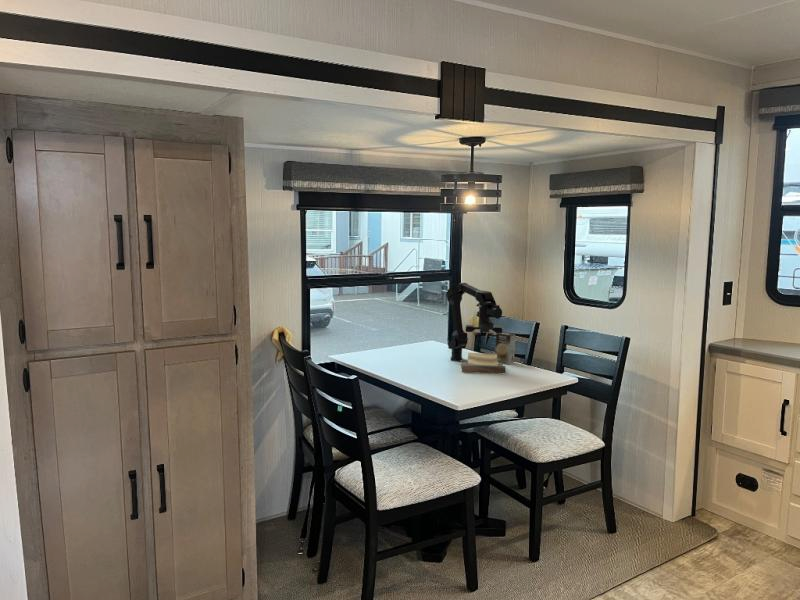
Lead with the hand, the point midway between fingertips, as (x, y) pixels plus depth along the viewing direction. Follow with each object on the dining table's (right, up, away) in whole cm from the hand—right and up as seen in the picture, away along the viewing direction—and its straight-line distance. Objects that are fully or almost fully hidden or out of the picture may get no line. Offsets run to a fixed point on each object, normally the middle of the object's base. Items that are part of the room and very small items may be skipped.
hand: (483, 345), depth 311 cm
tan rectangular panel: (0, -8, -1) cm, 8 cm away
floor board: (-1, -12, -1) cm, 12 cm away
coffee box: (+14, -11, +15) cm, 23 cm away
